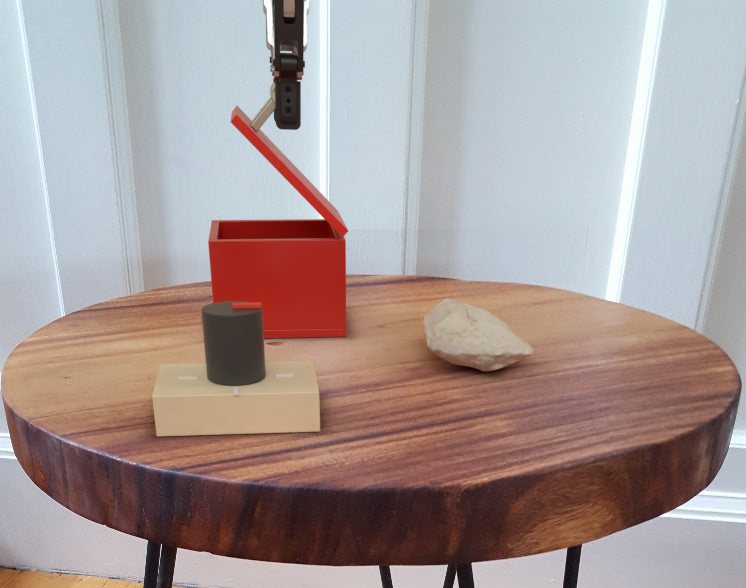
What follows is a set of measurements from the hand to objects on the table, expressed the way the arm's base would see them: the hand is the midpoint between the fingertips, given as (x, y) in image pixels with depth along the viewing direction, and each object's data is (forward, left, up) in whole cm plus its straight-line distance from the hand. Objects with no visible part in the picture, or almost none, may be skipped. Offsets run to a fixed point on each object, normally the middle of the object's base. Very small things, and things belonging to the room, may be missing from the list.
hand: (286, 125), depth 88 cm
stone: (+16, -14, -18) cm, 27 cm away
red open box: (-1, 0, -18) cm, 18 cm away
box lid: (0, 0, -4) cm, 4 cm away
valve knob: (-5, -28, -15) cm, 32 cm away
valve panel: (-5, -28, -18) cm, 34 cm away
